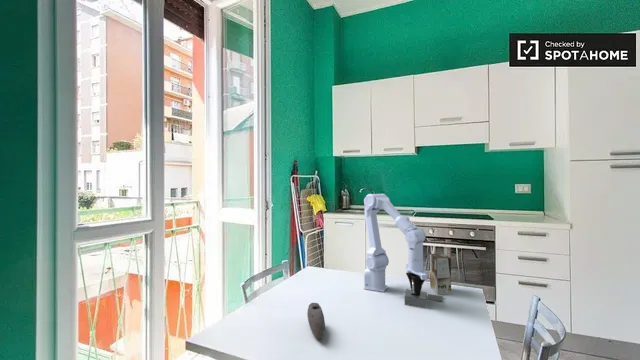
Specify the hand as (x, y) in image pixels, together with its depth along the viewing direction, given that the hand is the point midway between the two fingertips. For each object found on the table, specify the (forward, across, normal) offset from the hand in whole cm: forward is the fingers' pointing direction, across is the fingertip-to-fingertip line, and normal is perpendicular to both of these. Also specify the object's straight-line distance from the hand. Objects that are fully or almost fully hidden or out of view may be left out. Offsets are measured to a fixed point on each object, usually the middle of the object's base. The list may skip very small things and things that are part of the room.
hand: (415, 291), depth 117 cm
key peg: (+3, 0, 0) cm, 3 cm away
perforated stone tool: (+5, +17, -43) cm, 47 cm away
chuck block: (+4, -3, +2) cm, 6 cm away
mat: (+4, -3, +10) cm, 11 cm away
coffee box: (+5, -11, +17) cm, 21 cm away
